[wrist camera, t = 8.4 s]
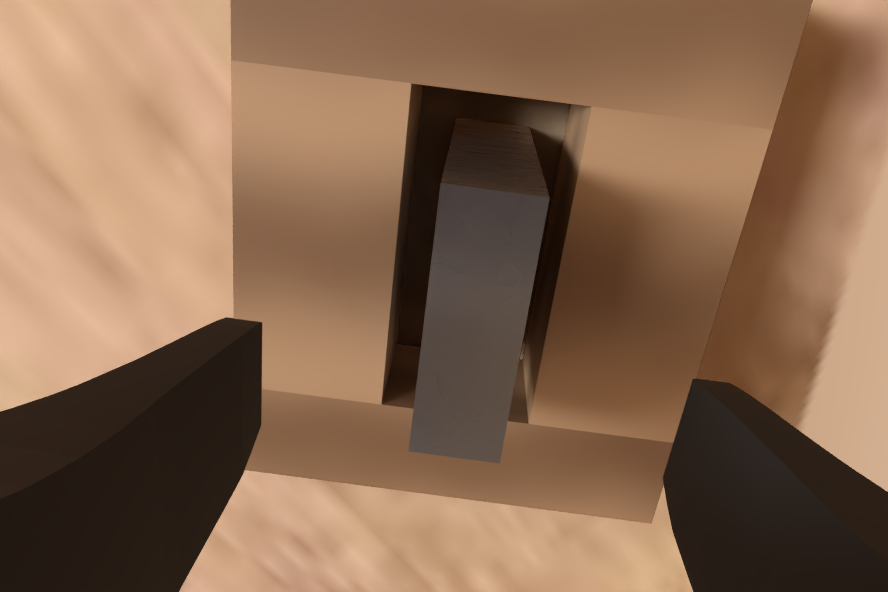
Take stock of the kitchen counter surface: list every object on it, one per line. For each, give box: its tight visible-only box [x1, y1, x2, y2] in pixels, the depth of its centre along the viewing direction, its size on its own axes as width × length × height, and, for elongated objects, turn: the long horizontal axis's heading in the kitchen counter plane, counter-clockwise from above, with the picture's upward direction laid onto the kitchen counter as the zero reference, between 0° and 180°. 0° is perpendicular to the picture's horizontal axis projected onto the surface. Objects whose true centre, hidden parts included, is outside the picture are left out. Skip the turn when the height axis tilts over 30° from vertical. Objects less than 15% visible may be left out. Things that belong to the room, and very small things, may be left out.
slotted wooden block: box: [231, 0, 813, 524], centre depth 19 cm, size 14×12×4 cm
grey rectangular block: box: [409, 118, 550, 464], centre depth 17 cm, size 6×2×7 cm, turn 173°
